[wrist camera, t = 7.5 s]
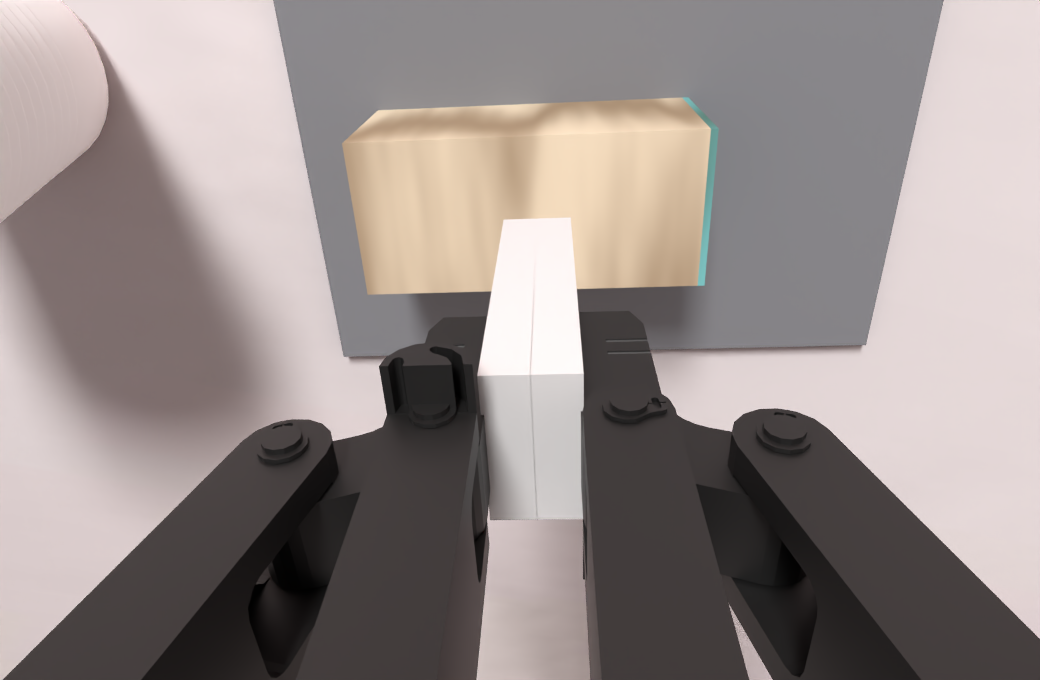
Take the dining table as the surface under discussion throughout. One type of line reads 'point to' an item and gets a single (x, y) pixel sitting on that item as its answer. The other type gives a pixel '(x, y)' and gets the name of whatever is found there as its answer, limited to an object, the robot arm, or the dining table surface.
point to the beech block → (533, 191)
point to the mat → (646, 75)
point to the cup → (45, 96)
